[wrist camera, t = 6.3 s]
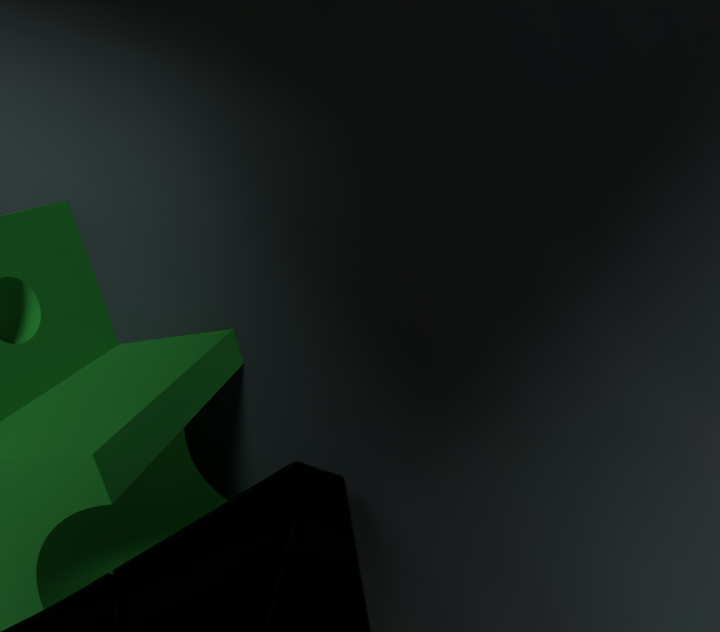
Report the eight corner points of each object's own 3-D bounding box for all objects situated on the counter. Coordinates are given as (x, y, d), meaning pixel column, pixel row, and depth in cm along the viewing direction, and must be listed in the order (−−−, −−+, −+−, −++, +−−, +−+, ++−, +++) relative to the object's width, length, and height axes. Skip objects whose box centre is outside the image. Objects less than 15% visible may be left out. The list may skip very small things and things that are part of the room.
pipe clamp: (330, 640, 13) (261, 879, 9) (192, 637, 14) (74, 853, 10) (191, 170, 10) (-12, 221, 6) (23, 207, 10) (-254, 272, 7)
